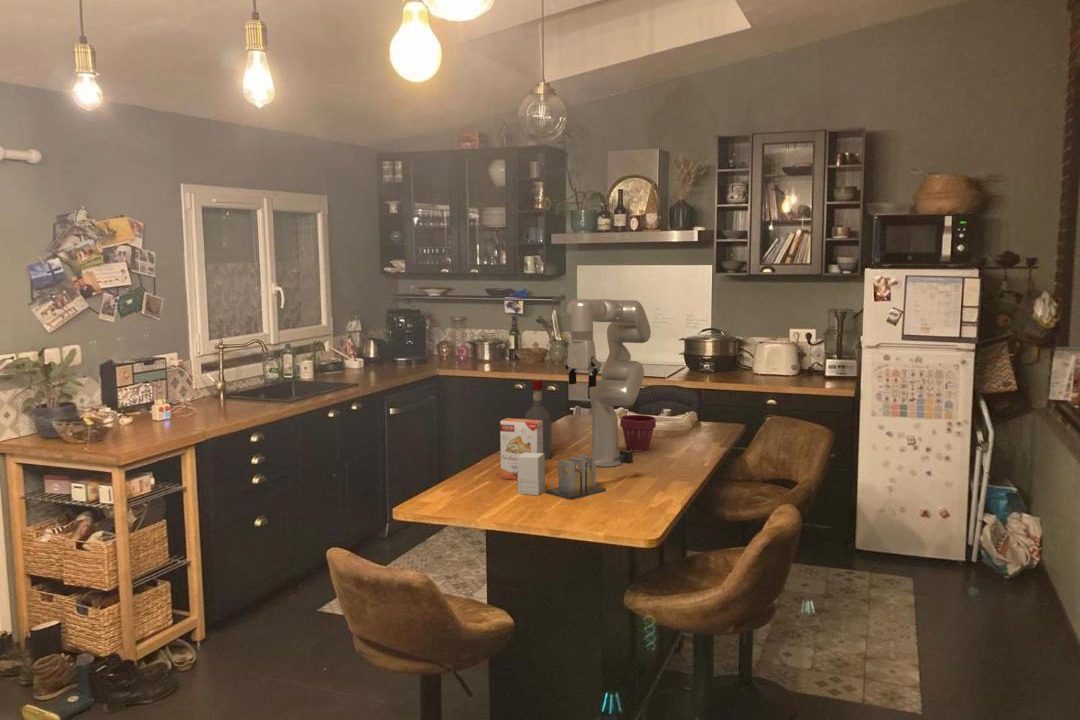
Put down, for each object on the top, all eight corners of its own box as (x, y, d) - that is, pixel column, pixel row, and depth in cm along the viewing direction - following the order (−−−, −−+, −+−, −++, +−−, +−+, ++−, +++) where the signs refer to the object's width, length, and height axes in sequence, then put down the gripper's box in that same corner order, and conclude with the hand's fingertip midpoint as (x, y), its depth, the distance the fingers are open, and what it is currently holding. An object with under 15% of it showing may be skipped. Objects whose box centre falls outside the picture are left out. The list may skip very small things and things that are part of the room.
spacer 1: (567, 487, 294) (567, 470, 294) (580, 491, 290) (580, 473, 289) (562, 489, 293) (562, 471, 292) (575, 492, 288) (575, 474, 288)
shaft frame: (579, 484, 302) (579, 452, 301) (605, 491, 294) (605, 458, 293) (545, 493, 292) (545, 460, 291) (571, 500, 283) (571, 465, 282)
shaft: (624, 460, 311) (624, 449, 311) (632, 462, 308) (632, 451, 308) (583, 470, 297) (583, 458, 297) (591, 472, 294) (591, 460, 294)
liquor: (541, 454, 351) (540, 378, 348) (554, 458, 344) (554, 381, 340) (521, 457, 346) (521, 380, 343) (534, 461, 339) (533, 383, 335)
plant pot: (662, 449, 358) (663, 418, 357) (636, 454, 350) (636, 421, 349) (639, 443, 370) (639, 413, 369) (613, 448, 362) (613, 416, 361)
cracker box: (500, 479, 311) (499, 420, 309) (507, 475, 317) (506, 417, 315) (537, 482, 306) (536, 422, 304) (543, 478, 312) (543, 419, 309)
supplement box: (545, 490, 295) (545, 453, 294) (538, 496, 288) (538, 457, 287) (524, 488, 298) (524, 451, 296) (517, 494, 291) (516, 456, 289)
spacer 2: (578, 485, 298) (578, 467, 297) (591, 488, 293) (591, 470, 293) (573, 486, 296) (573, 468, 296) (586, 489, 292) (586, 471, 291)
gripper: (557, 335, 313) (557, 384, 315) (592, 338, 301) (592, 388, 302) (572, 334, 318) (572, 382, 320) (607, 337, 306) (607, 386, 308)
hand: (582, 385), depth 311 cm, fingers open, 9 cm apart
